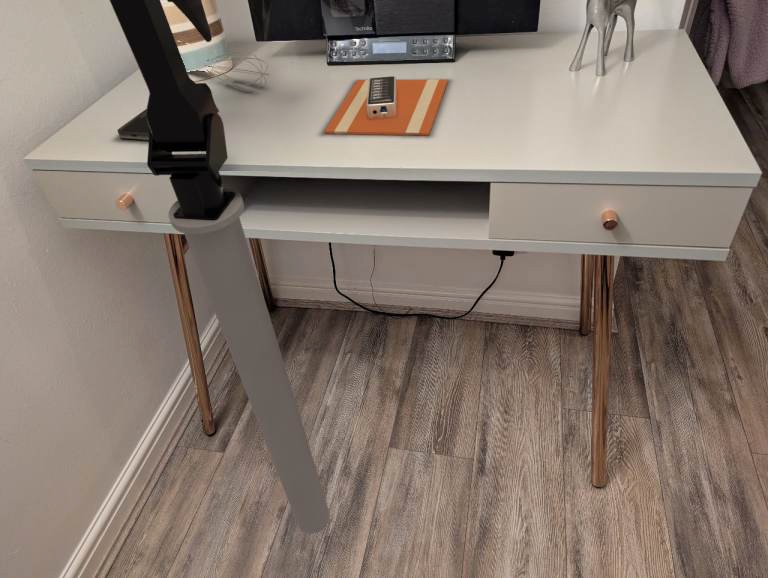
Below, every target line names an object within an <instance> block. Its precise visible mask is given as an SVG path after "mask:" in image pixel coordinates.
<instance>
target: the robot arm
mask: <svg viewBox="0 0 768 578" xmlns="http://www.w3.org/2000/svg"><path fill="white" fill-rule="evenodd" d="M166 1H167V2H168V3H173V5H175V7H176V8H177V9H178V10H179V11H180V12H181V13H182V14H183V15H184V16H185V17H186V18H187V19H188V21H189V22H190V23H191V24H192V26H193V27H194V28H195V30H197V32H198V33H199V34H200V35H201V37H202V38H203V39H204V41H205V42H206V43H210V42H212V38H213V37H212V33H211V28H210V25H209V22H208V18H207V16H206V11H205V9H204V5H203V2H202V0H166ZM109 3H110V5H111V8H112V10H113V12H114V14H115V16H116V19H117V21H118V23H119V26H120V28H121V31H122V32H123V34H124V37H125V40H126V42H127V44H128V46H129V48H130V51H131V53H132V55H133V57H134V60H135V62H136V65H137V66H138V70H139V71H140V73H141V76H142V78H143V80H144V82H145V84H146V87H147V90H148V92H149V94H148V99H147V105H146V108H145V109H146V118H147V121H148V124H149V127H150V130H149V140H148V147H147V161H146V166H147V167H148V169H149V170H150V171H151V173H152V175H154V176H155V177H157V176H169V181H170V185H171V186H172V189H173V191H174V195H175V197H176V201H177V200H178V202H179V205H180V207H179V208H178V209H177V210H176V212H175V213H174V214H173V216H174V218H176V219H193V220H211V221H215V220H218V219H219V217H220V216H221V215H222V213H223V212H224V211H225V209H226V208H227V207H228V205H229V204H230V203H231V201H232V200H233V199H234V197H235V196H236V195H235V192H228V191H224V187H225V186H222V184H223V182H222V181H223V180H222V177H221V174H220V170H221V169H222V167H223V166H224V163H226V161H227V160H228V157H229V156H228V149H227V142H226V135H225V126H224V122H223V118H222V117H221V115H220V114H219V113H220V110H219V108H218V107H217V105H216V102H215V100H214V97H213V92H212V90H211V87H210V86H209V85H208V83H207V82H198V83H197V82H195V81H194V80H193V79H192V78H191V77H190V76H189V74H188V72H187V69H186V68H185V65H184V63H183V60H182V58H181V55H180V54H181V52H180V49H179V47H178V45H177V42H176V38H175V36H174V34H173V31H172V28H171V26H170V23H169V20H168V18H167V15H166V13H165V10H164V7H163V5H162V4H163V3H162V2H161V0H109ZM272 3H273V0H250V4H251V7H252V11H253V14H254V18H255V23H256V26H257V30H258V32H259V36H260V38H261V41H262V42H265V41H267V39H268V35H269V25H270V17H271V16H270V15H271V9H272V5H273V4H272ZM189 152H191V153H189ZM192 152H194V153H192ZM195 152H197V153H195ZM199 152H205V153H199ZM173 153H174V154H173Z"/></svg>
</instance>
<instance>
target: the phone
mask: <svg viewBox="0 0 768 578" xmlns="http://www.w3.org/2000/svg"><path fill="white" fill-rule="evenodd" d="M146 109H147V108H145V109H144V110H142V111H141V112H140V113H139V114H137V115H136V116H135V117H133V118H131V119H130V120H129V121H127V122H126V123H125V124H123V125H122V126H120V127H119V128H118V129H117V133H118V134H117V135H118V136H119V139H122V140H123V139H124V140H137V141H149V130H150V127H149V124H148V121H147V118H146Z"/></svg>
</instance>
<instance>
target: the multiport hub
mask: <svg viewBox="0 0 768 578" xmlns="http://www.w3.org/2000/svg"><path fill="white" fill-rule="evenodd" d="M396 78H397V77H396V76H394V75H393V76H381V77H371V78H369V79H368V80H369V86H368V96H367V112H368V119H381V118H393V117H396V114H397V89H396V80H397V79H396Z"/></svg>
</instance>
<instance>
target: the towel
mask: <svg viewBox="0 0 768 578" xmlns="http://www.w3.org/2000/svg"><path fill="white" fill-rule="evenodd" d="M448 82H449V80H448V79H443V78H442V79H439V78H437V79H436V78H435V79H431V78H429V79H428V78H427V79H396V89H397V114H396V117H393V118H381V119H368V112H367V96H368V86H369V79H357V80H356V82H355V84H354V85H353V87H352V88H351V90H350V91H349V92H348V94H347V96H346V97H345V99H344V101H343V102H342V104H341V105H340V107H339V109H337V111H336V113H335V115H334V116H333V118H332V119H331V121H330V123H328V126H327V127H326V129H325V130H324V134H326V135H327V134H329V135H377V136H378V135H379V136H384V135H385V136H386V135H387V136H388V135H389V136H430V133H431V131H432V127H433V124H434V122H435V119H436V116H437V113H438V110H439V108H440V105H441V103H442V99H443V97H444V93H445V91H446V88H447V85H448Z"/></svg>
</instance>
